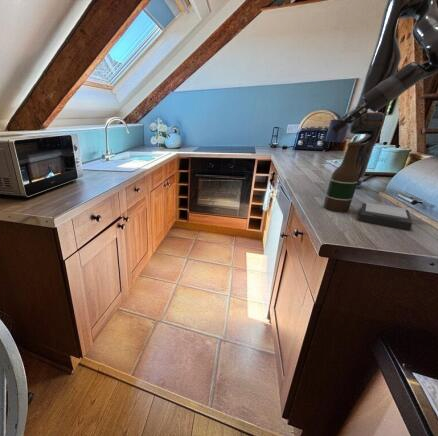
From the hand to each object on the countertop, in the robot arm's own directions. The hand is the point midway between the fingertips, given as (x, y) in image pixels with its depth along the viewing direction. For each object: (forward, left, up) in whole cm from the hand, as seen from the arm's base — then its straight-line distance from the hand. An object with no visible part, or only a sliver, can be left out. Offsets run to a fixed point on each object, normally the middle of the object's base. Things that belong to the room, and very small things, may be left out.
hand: (332, 129), depth 96 cm
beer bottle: (+15, +8, -28) cm, 32 cm away
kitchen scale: (+17, +22, -27) cm, 39 cm away
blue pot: (0, +2, -4) cm, 5 cm away
